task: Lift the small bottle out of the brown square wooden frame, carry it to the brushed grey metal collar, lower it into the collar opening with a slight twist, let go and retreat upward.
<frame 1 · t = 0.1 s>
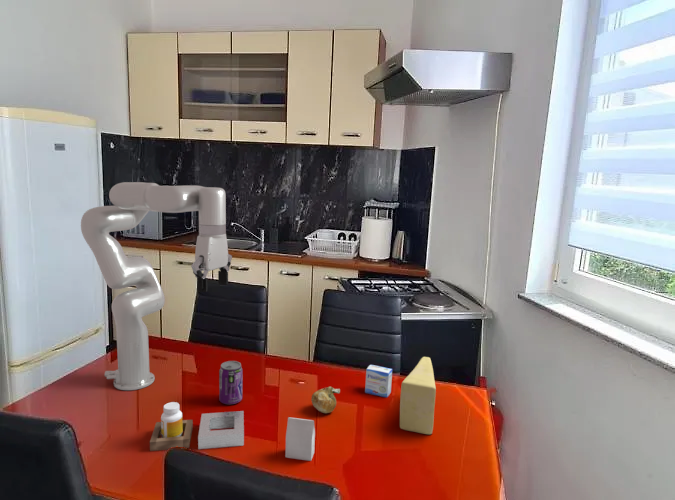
hand: (213, 287, 136), 37 cm above the table, tool pointing down, fingers open, 9 cm apart
cheese: (420, 414, 142), on the table
metal collar: (222, 434, 126), on the table
medicine box: (377, 393, 154), on the table
beverage can: (231, 401, 145), on the table
white boxy piece: (300, 455, 119), on the table
supplement bottle: (172, 439, 124), resting in brown square wooden frame
brown square wooden frame: (172, 438, 124), on the table
onion: (323, 411, 141), on the table
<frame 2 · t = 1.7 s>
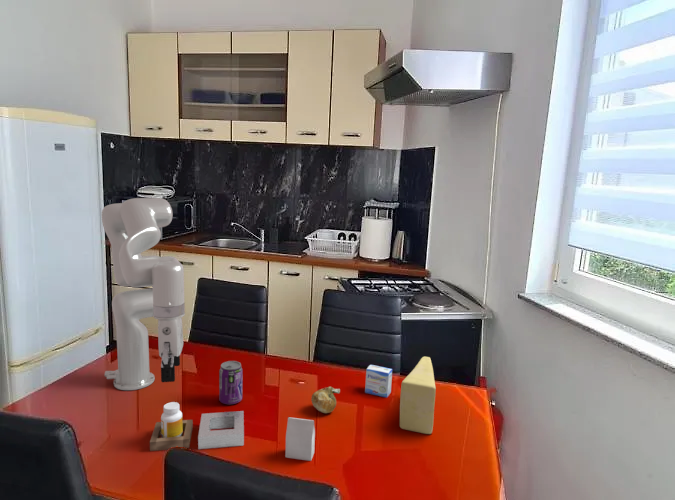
hand: (171, 373, 120), 19 cm above the table, tool pointing down, fingers open, 9 cm apart
nothing on the table moved.
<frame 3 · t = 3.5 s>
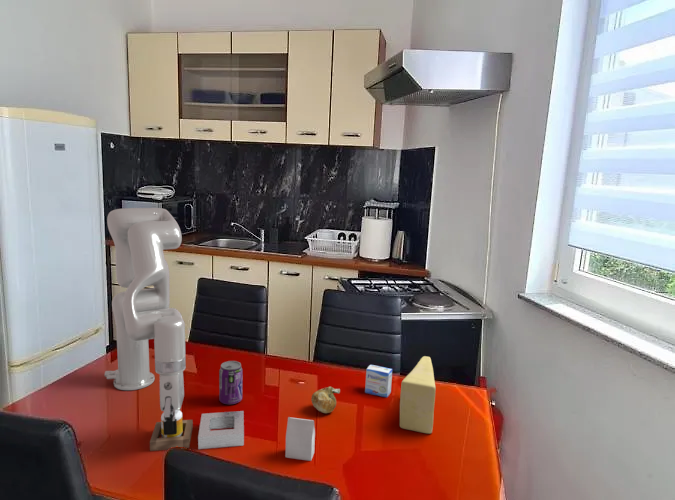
hand: (172, 426, 123), 4 cm above the table, tool pointing down, fingers closed on supplement bottle, 5 cm apart
supplement bottle: (172, 439, 124), resting in brown square wooden frame, touching gripper
everything else where it was.
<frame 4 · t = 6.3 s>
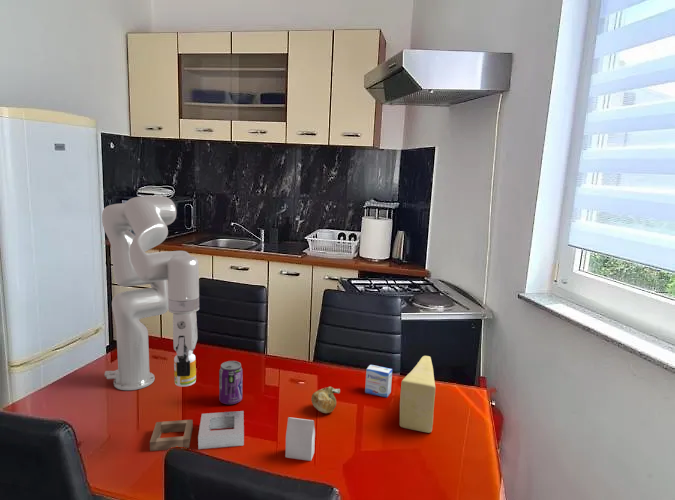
hand: (185, 369, 121), 20 cm above the table, tool pointing down, fingers closed on supplement bottle, 5 cm apart
supplement bottle: (185, 383, 122), point 16 cm above the table, touching gripper
when the fingers open (5 cm above the table, at t = 9.3 s): supplement bottle drops 1 cm, resting in metal collar.
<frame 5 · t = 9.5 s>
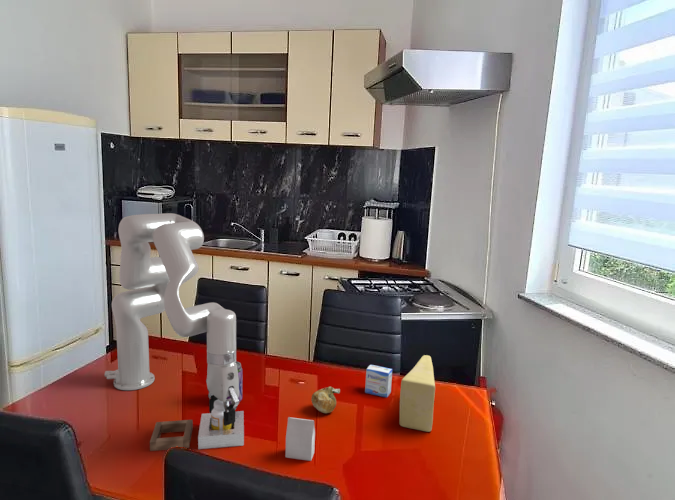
hand: (222, 417, 125), 5 cm above the table, tool pointing down, fingers open, 7 cm apart
supplement bottle: (221, 435, 127), resting in metal collar
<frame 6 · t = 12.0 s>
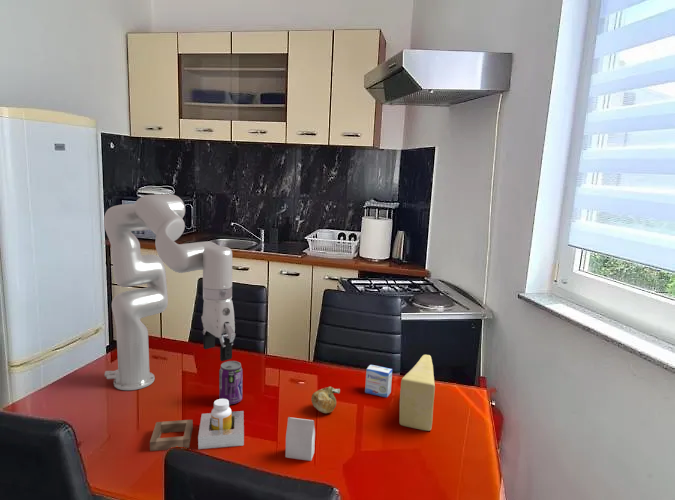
hand: (217, 353, 125), 22 cm above the table, tool pointing down, fingers open, 9 cm apart
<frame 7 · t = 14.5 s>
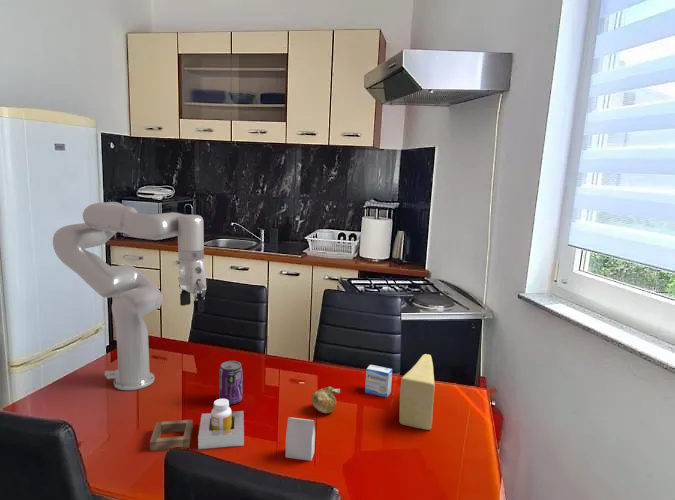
hand: (192, 308, 145), 28 cm above the table, tool pointing down, fingers open, 9 cm apart
at the end: supplement bottle 0.3 cm off-centre on the metal collar, point 0.0 cm above the metal collar's base; supplement bottle tilted 0°; the gripper is holding nothing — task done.
